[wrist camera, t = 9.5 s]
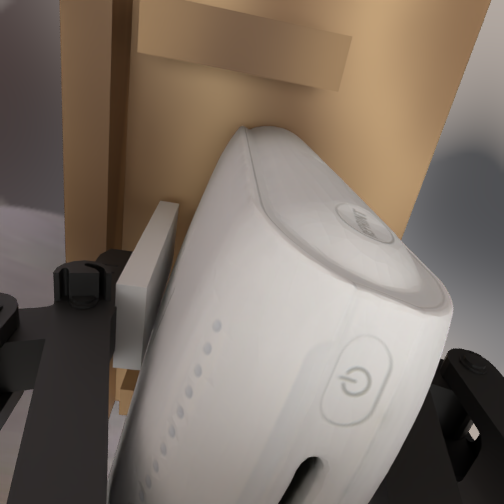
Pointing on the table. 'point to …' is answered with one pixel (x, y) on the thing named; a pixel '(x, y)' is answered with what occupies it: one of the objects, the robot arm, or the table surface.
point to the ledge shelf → (247, 103)
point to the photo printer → (281, 342)
